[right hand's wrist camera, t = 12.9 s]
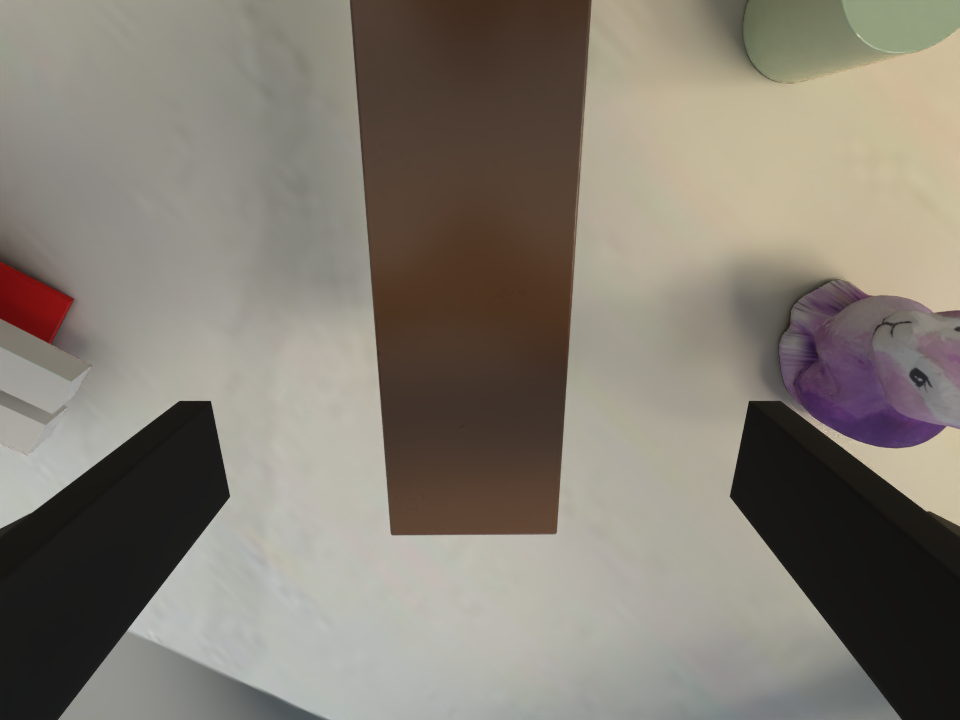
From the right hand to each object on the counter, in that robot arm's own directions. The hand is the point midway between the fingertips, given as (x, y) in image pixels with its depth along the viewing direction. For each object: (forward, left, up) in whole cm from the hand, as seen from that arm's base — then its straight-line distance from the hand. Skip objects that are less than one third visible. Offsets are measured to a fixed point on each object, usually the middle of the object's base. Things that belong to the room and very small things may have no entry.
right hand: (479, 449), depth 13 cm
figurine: (-24, +5, -21) cm, 32 cm away
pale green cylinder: (-18, -14, -21) cm, 31 cm away
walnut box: (0, -8, -9) cm, 12 cm away
